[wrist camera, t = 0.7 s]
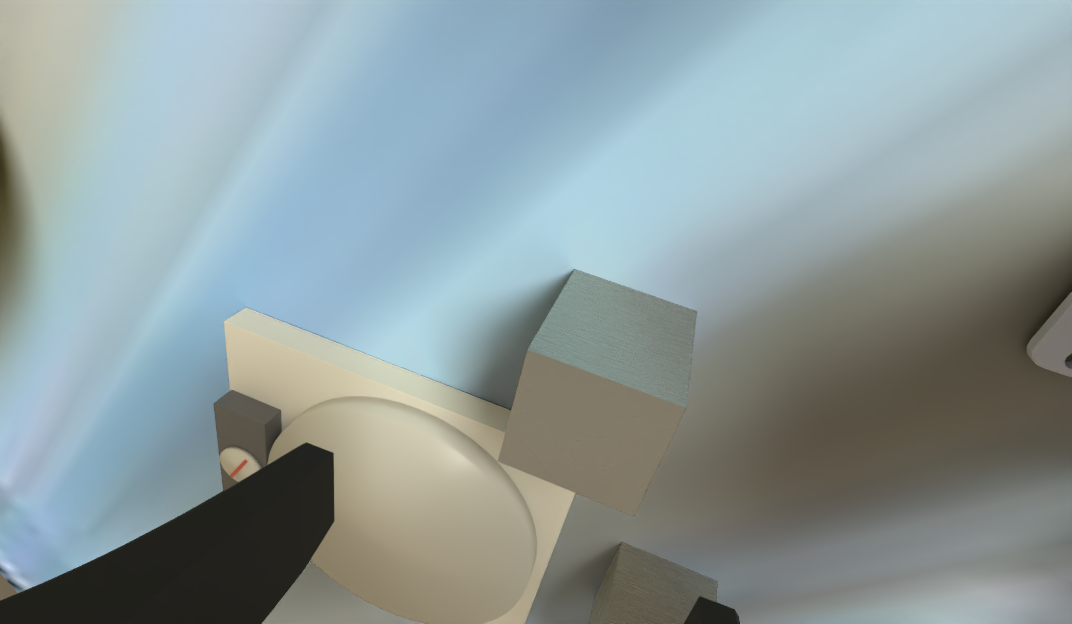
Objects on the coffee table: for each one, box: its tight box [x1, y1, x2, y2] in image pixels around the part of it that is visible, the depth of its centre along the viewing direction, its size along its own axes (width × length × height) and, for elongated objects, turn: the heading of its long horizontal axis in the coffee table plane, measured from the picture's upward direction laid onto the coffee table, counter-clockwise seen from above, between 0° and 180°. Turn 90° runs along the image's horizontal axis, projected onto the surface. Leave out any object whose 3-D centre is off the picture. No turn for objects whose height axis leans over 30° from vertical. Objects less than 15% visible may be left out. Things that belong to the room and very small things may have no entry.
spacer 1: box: [498, 269, 697, 516], centre depth 17 cm, size 4×4×5 cm
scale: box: [214, 308, 575, 624], centre depth 24 cm, size 15×13×2 cm
